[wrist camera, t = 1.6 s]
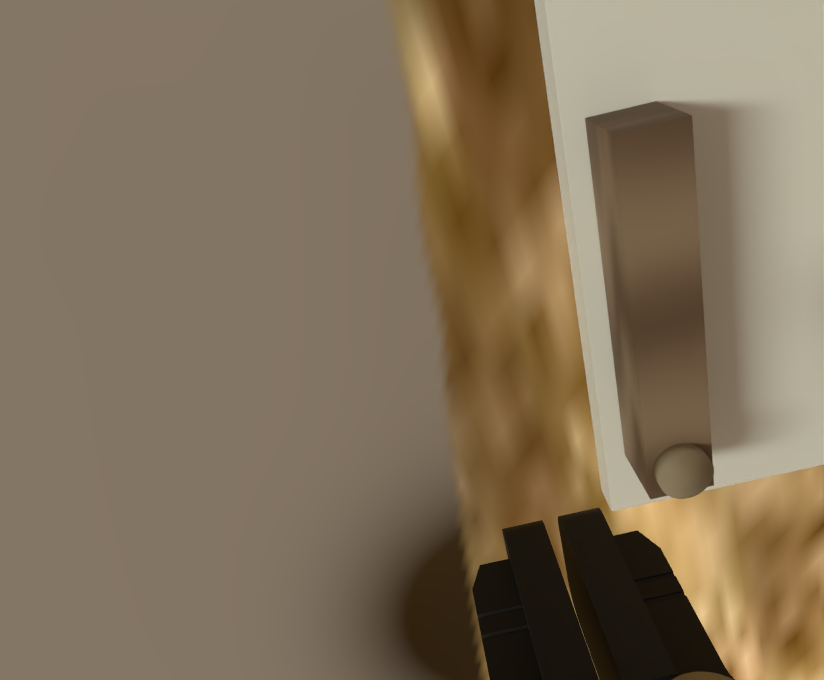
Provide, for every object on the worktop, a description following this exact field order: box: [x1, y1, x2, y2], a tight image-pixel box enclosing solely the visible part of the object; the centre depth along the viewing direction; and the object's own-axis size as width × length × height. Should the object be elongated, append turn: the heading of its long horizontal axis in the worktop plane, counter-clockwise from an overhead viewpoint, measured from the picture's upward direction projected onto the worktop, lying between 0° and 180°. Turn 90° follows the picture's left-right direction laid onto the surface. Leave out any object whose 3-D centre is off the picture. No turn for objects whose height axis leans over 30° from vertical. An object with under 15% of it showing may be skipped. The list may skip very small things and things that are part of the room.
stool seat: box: [534, 0, 824, 511], centre depth 29 cm, size 21×15×2 cm
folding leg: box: [585, 101, 714, 499], centre depth 27 cm, size 14×2×4 cm, turn 12°
